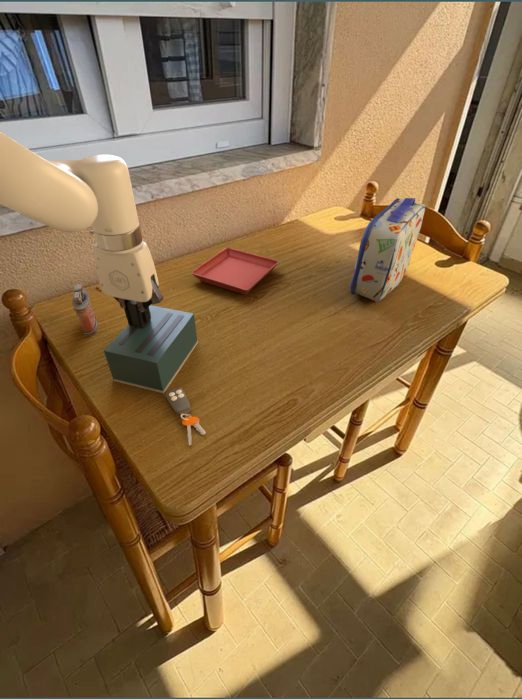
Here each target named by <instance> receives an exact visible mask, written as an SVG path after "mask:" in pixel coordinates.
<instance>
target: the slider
mask: <svg viewBox="0 0 522 699" xmlns="http://www.w3.org/2000/svg"><path fill="white" fill-rule="evenodd" d="M127 305H128V309H129V313H130V317H131V320H132V324H133V325H135V326H140V325H139V321H138V317H137V311H138V306H137V302H136V301H132V300H130V301H129V302H128V303H127Z"/></svg>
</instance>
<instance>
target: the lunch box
mask: <svg viewBox="0 0 522 699" xmlns="http://www.w3.org/2000/svg"><path fill="white" fill-rule="evenodd" d="M425 212H426V204H424V203H420V202H419V203H418V202H416V198H415V197H405V198H398V197H397V198H394V200H393V201H392V202H391V203H390V204H389V205H388V206H387V207H385V208H384V209H383V210H382V211H381V212H379V213H378V214H376V216H374V217H373V218H372V219H371V220H370V221H369V222H368V224H367V225H366V227H365V230H364V232H363V234H362V237H361V239H360V243H359V248H358V252H357V258H356V261H355V266H354V270H353V275H352V279H351V283H350V287H349V291H350V294H352V295H356V294H357V295H359V296H361V297H364V298H367V299H369V300H371V301H372V302H373V301H374V302H375V303H379V302H381V301H382V300H383V299H384V298H386V297H387V296H388V295H389V294H390V293H391V292H392V291H393V290H395V289H396V288H397V287H398V286H399V285H400V283H401V281H402V280H403V278H404V277H405V275H406V274H407V271H408V269H409V265H410V262H411V258H412V254H413V252H414V249H415V246H416V243H417V240H418V238H419V235H420V231H421V229H422V224H423V219H424V215H425Z"/></svg>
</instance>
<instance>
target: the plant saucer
mask: <svg viewBox="0 0 522 699" xmlns="http://www.w3.org/2000/svg"><path fill="white" fill-rule="evenodd" d="M279 263H280V262H279V260H277V259H274V258H269V257H267V256H266V257H265V256H264V255H263V256H262V255H258V254H255V253H251V252H247V251H243V250H239V249H236V248H232V247H225V248H223V249H222V250H220V251H219V252H218V253H216V254H214V255H213V256H212V257H210V258H208V260H206V261H204V263H201V264H200V265H199V266H197V267H196V268H194V269H193V270H192V271H191V274H192V276H194V277H195V278H196V279H198V280H199V281H201V282H203V283H206V284H209V285H212V286H216V287H219V288H222V289H225V290H228V291H231V292H235V293H237V294H241V295H247V294H248V293H249V292H250V291H251V290H252V289H253V288H254V287H255V286H257V285H258V284H259V283H260V282H261V281H262V280H263V279H265V278H266V277H267V276H268V275H269V274H270V273H271V272H272V271H273V270H274V269H275V268H276V267H277V266H278V265H279Z"/></svg>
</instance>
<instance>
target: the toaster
mask: <svg viewBox="0 0 522 699" xmlns="http://www.w3.org/2000/svg"><path fill="white" fill-rule="evenodd" d="M149 310H150V315H151V321H150V322H149V323H148V324H147V325H146V326H145V327H144V328H141V327H140V326H135V325H132V326H131V325H129V324H128V323H127V325H126V326H125V327H124V329H122V331H121V332H120V333H119V334H118V335H117V336H116V337H115V338H114V339H113V340H112V341H111V342H110V343H109V344H108V345H107V346H106V347H105V348H104V349H103V353H104V356H105V359H106V362H107V364H108V368H109V371H110V374H111V377H112V381H113V382H116V383H119V384H124V385H128V386H131V387H134V388H135V387H136V388H140V389H143V390H148V391H151V392H156V393H159V394H163V395H164V394H166V391H167V390H168V388H169V387H170V385H171V384H172V382H173V381H174V379H175V378H176V376H178V374H179V372H180V370H181V369H182V367H183V366H184V365H185V363H186V362H187V360H188V358H189V357H190V356H191V355H192V353H193V351H194V349H195V348H196V347H197V346H198V344H199V340H198V334H197V327H196V319H195V313H193V312H188V311H182V310H178V309H173V308H167V307H162V306H156V305H153V304H151V305H150V306H149Z"/></svg>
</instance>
